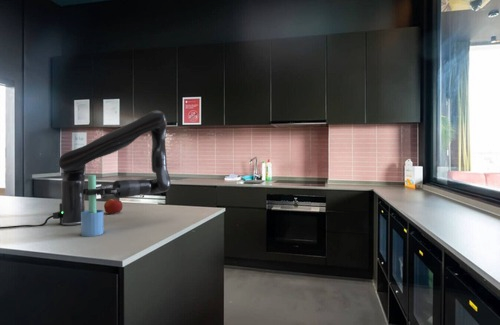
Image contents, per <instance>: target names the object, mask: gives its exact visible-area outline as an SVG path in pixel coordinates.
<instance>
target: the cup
mask: <svg viewBox="0 0 500 325" xmlns="http://www.w3.org/2000/svg"><path fill="white" fill-rule="evenodd" d="M104 230H105V229H104V210H103V209H97V213H89V209H88V210H85V211H83V212H81V224H80V236H82V237H97V236H100V235H103V234H104V232H105V231H104Z"/></svg>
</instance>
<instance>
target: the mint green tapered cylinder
mask: <svg viewBox="0 0 500 325" xmlns="http://www.w3.org/2000/svg"><path fill="white" fill-rule="evenodd" d="M96 187H97V175H96V174H90V175H87V189H88V190H89V189H96ZM87 197H88V210H89V213H97V210H98V209H97V194H96V195H87Z"/></svg>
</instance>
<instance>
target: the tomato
mask: <svg viewBox="0 0 500 325" xmlns="http://www.w3.org/2000/svg"><path fill="white" fill-rule="evenodd" d="M103 206H104V207H103V208H104V212H105V213H106V214H118V213H121V211H122V210H123V207H124V206H123V202H122V201H121V200H119V199H118V198H109V199H108V200H106V201H105V202H104V203H103Z"/></svg>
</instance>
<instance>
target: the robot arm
mask: <svg viewBox="0 0 500 325" xmlns="http://www.w3.org/2000/svg"><path fill="white" fill-rule="evenodd" d="M167 126H168V120H167V117H166V115H165V113H164V112H163V111H161V110H157V109H156V110H152V111H149V112H147V113H146V114H144V115H143V116H141V117H139V118H138V119H136V120H134V121H132V122H129V123H127V124H125V125H123V126H121V127H119V128H117V129H114V130H111V131H110V132H108V133H105V134H103V135H101V136H99V137H98V138H96V139H94V140H93V141H91V142H89V143H87V144H86V145H83V146H79V147H78V148H75V149H72V150H69V151H65V152H64V153H62V154H61V155H60V157H59V158H58V167H59V168H60V169H61V170H62V179H61V182H60V188H61V189H60V191H61V192H60V193H61V196H60V197H61V202H60V203H59V211H55V212H52V215H50V216H48V217H47V218H45V220H44V222H43V223H41V224H19V225H18V224H17V225H7V226H0V230H2V229H3V230H4V229H15V228H26V227H27V228H31V227H32V228H35V227H42V226H45V225H46V224H47V223H48V221H49V220H50V219H54V220H59V225H62V226H77V225H81V212H83V211H86V210H85V208H86V207H85V205H86V204H85V196H88V195H96V196H113V197H115V199H121V198H131V197H136V196H143V195H155V194H161V193H165V192H168V191H169V190H170V188H171V184H172V182H171V178H170V175H169V174H170V173H169V171H168V164H167V150H166V135H167V134H166V133H167ZM149 132H150V135H151V153H150V154H151V155H150V158H151V159H150V160H151V163H150V164H151V171H152V173H153V174H155V176H156V177H155V178H154V179H145V178H143V179H142V178H139V179H119V180H115V181H113V184H112V185H111V184H106V185H99V186H96V189H89V190H88V188H85V182H86V165H87V164H89V163H91V162H92V161H94V160H97V159H98V158H102V157H105V156H108V155H111V154H114V153H117V152H118V151H120V150H122V149H125V148H127V147H128V146H129V145H131V144H132V143H133V142H134V141H135V140H137V139H138V138H139V137H141V136H143V135H144V134H147V133H149Z"/></svg>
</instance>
